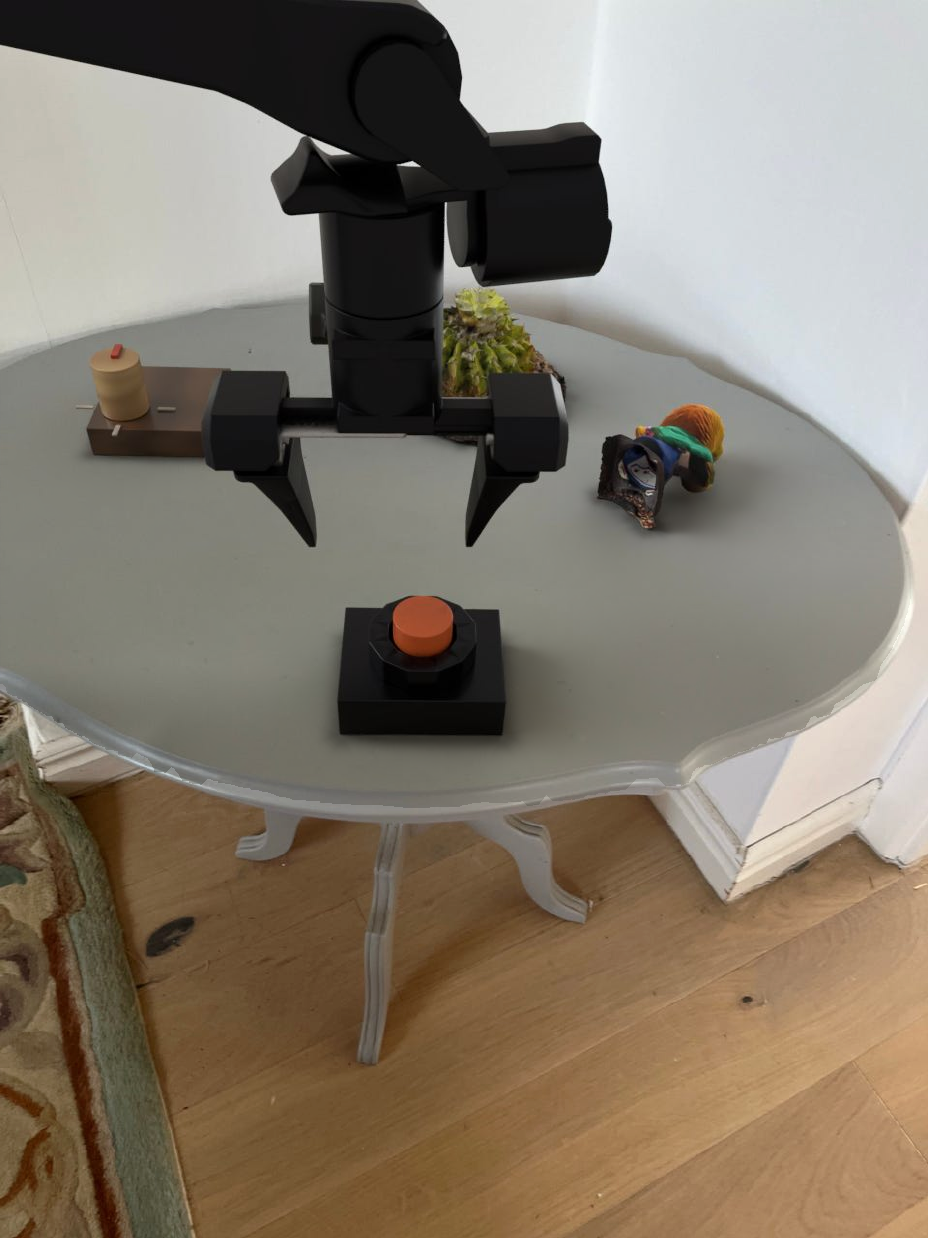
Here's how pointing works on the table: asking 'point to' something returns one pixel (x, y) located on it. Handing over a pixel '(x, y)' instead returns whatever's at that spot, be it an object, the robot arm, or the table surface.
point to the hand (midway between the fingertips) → (391, 542)
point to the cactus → (484, 346)
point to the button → (422, 626)
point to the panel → (159, 416)
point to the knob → (119, 383)
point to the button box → (421, 677)
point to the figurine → (661, 460)
